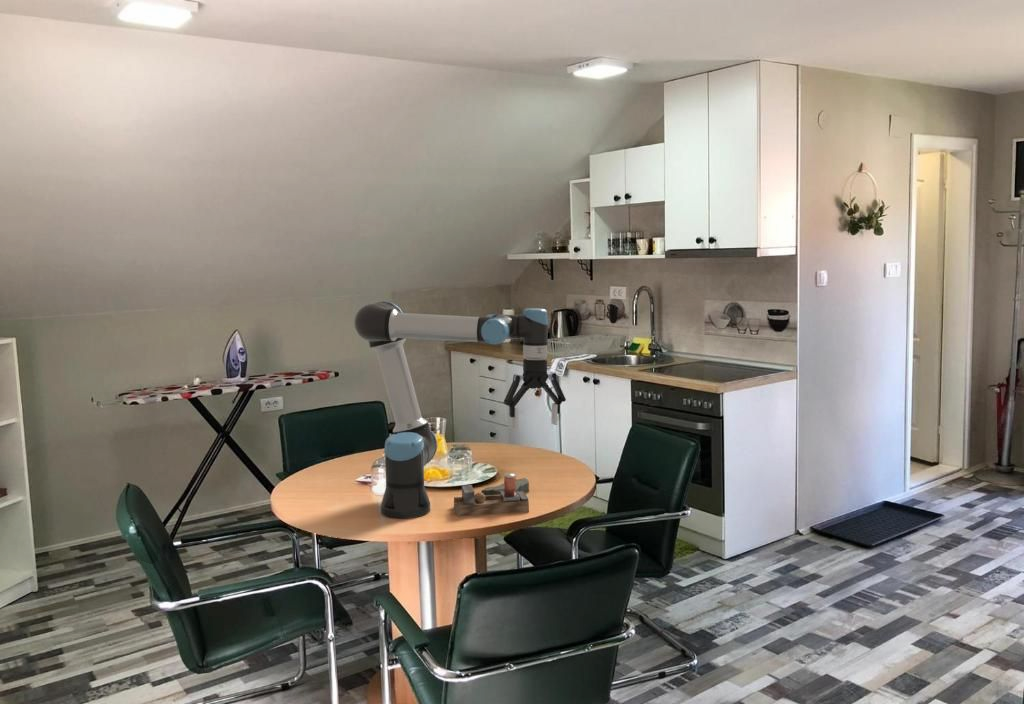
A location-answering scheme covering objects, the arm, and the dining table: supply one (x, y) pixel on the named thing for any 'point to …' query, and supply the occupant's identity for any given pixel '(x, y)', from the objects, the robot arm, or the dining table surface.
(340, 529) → the dining table surface
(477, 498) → the nut
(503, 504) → the board
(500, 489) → the rock
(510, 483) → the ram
